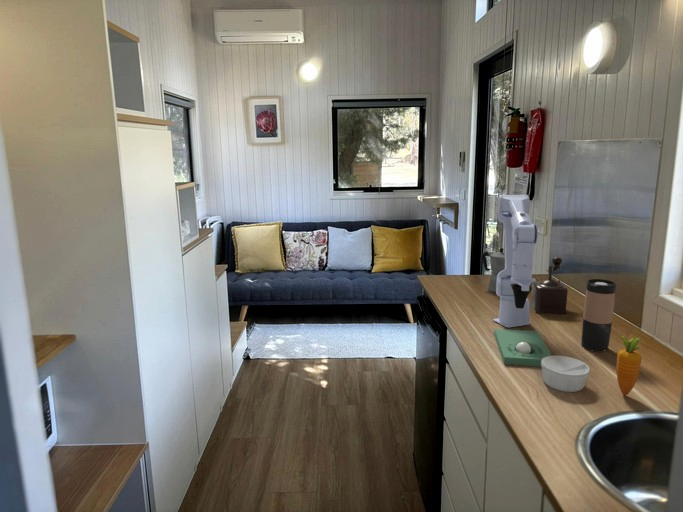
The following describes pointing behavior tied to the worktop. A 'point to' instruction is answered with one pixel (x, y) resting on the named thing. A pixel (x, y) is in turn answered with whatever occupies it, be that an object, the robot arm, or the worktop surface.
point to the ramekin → (564, 373)
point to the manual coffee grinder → (550, 293)
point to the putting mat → (509, 341)
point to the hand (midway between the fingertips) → (519, 307)
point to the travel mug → (598, 314)
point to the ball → (523, 348)
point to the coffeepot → (494, 266)
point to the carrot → (628, 365)
